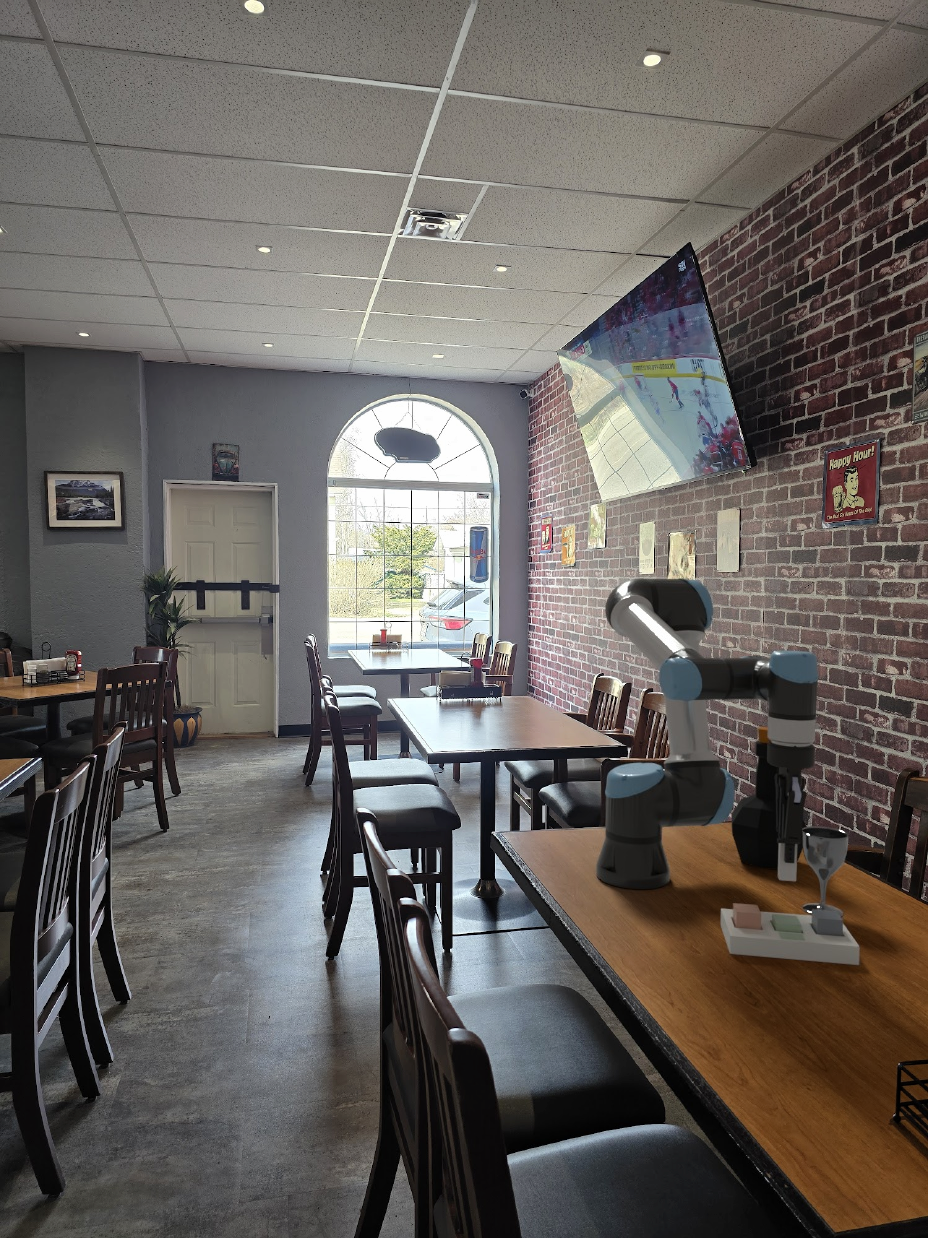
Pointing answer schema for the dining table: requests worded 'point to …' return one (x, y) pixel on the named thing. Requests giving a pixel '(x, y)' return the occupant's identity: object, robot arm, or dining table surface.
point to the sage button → (786, 923)
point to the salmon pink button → (746, 916)
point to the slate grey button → (827, 922)
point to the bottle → (759, 815)
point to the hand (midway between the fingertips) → (786, 879)
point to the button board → (789, 941)
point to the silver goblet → (824, 858)
